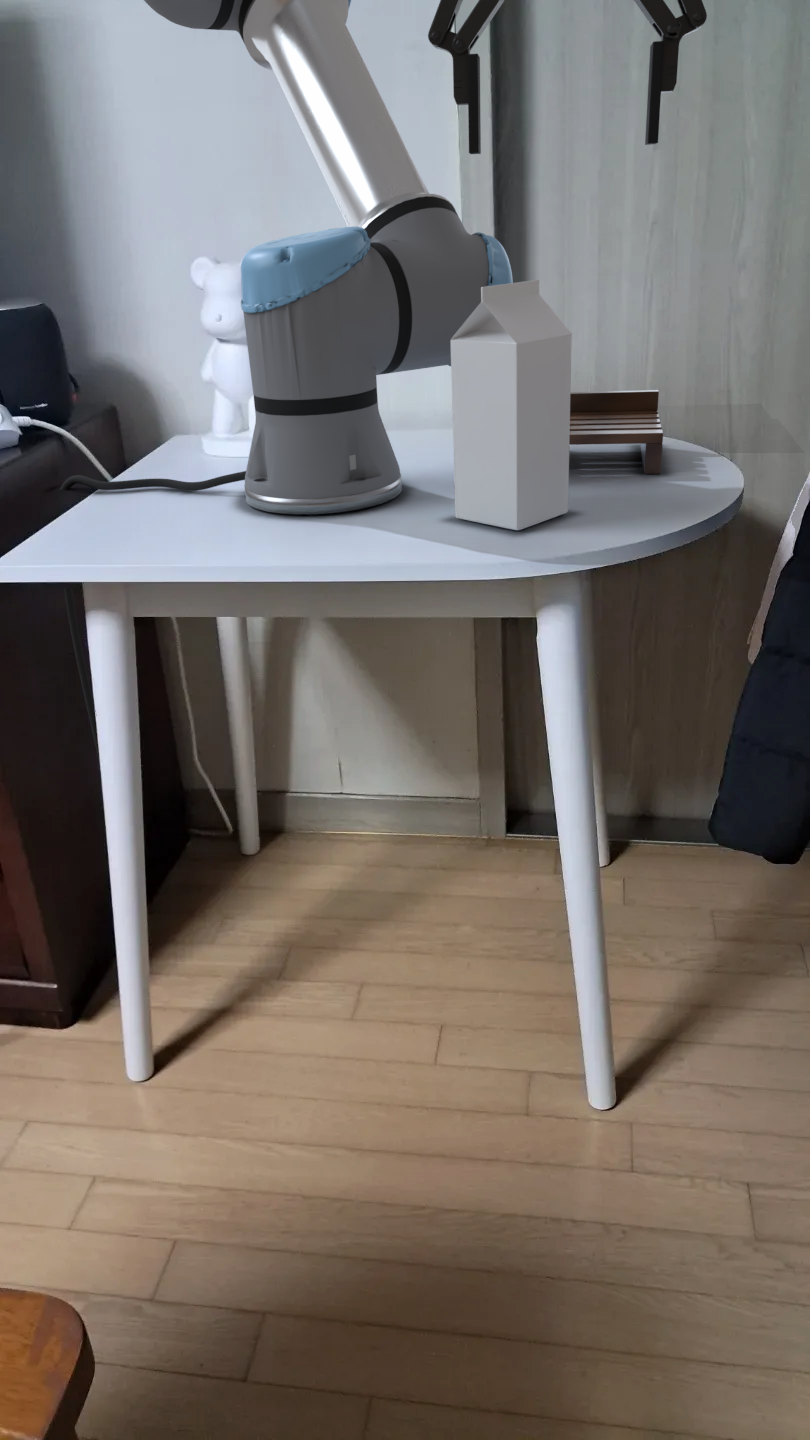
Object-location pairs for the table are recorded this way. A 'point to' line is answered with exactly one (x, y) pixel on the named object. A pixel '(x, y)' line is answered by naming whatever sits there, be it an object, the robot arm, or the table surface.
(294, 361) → the robot arm
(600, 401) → the wooden bench
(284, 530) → the table surface
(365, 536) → the table surface
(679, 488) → the table surface
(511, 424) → the milk carton
